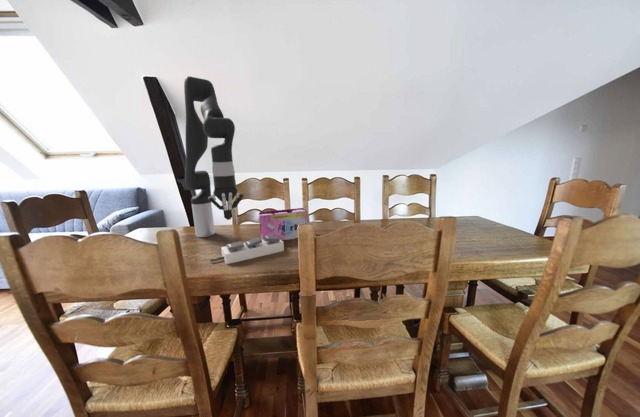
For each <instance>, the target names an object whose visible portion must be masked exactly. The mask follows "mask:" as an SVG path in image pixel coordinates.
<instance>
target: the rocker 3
mask: <svg viewBox="0 0 640 417" xmlns="http://www.w3.org/2000/svg"><path fill="white" fill-rule="evenodd" d="M263 239H264V240H265V241H266V242H280V239H279V238H278V237H277V236H263Z"/></svg>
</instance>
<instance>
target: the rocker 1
mask: <svg viewBox="0 0 640 417" xmlns="http://www.w3.org/2000/svg"><path fill="white" fill-rule="evenodd" d="M243 243H244V242H243V241H242V240H238V241H235V242H231V243H227V244H226V247H227V249H228V250H229V251H231V250H235V249H239V248H243V247H244V244H243Z"/></svg>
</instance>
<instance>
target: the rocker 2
mask: <svg viewBox="0 0 640 417" xmlns="http://www.w3.org/2000/svg"><path fill="white" fill-rule="evenodd" d="M261 239H262V238H260V237H259V236H256V237H254V238H251V239H249V240H246V241H245V242H244V243H245V245H246V246H247V247H248V248H250V247H252V246H255V245H257V244H260V243H262V240H261Z"/></svg>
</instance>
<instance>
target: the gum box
mask: <svg viewBox="0 0 640 417" xmlns="http://www.w3.org/2000/svg"><path fill="white" fill-rule="evenodd" d="M308 211H309V210H307V209H306V208H304V207H297V208H290V209H289V208H288V209H278V210H265V211H260V212H259V213H258V217H257V220H258V223H259V227H260V228H259V230H260V237H261V238H260V239H263V236H277V237H278V238H279V239H280V240H281V241H289V240H294V239H295V238H297V227H298V225H299V224H300V223H305V224H308V225H309V212H308ZM297 239H298V238H297Z"/></svg>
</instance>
